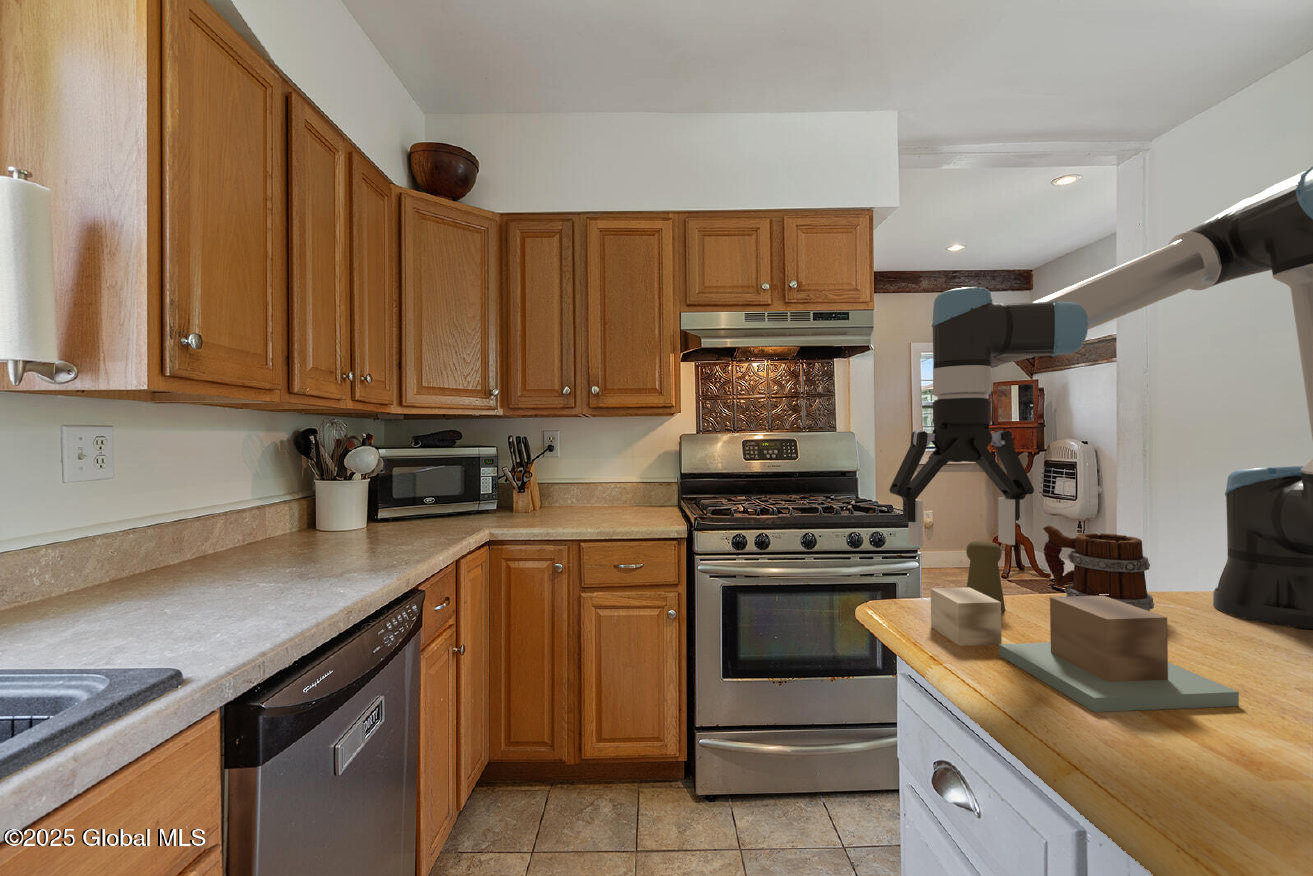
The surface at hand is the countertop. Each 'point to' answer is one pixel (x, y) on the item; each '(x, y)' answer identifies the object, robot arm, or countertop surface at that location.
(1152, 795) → the countertop surface
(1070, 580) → the mug
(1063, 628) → the walnut brick
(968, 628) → the maple cap block
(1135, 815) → the countertop surface
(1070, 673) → the baseplate
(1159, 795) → the countertop surface
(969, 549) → the olive pepper shaker
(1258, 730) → the countertop surface
